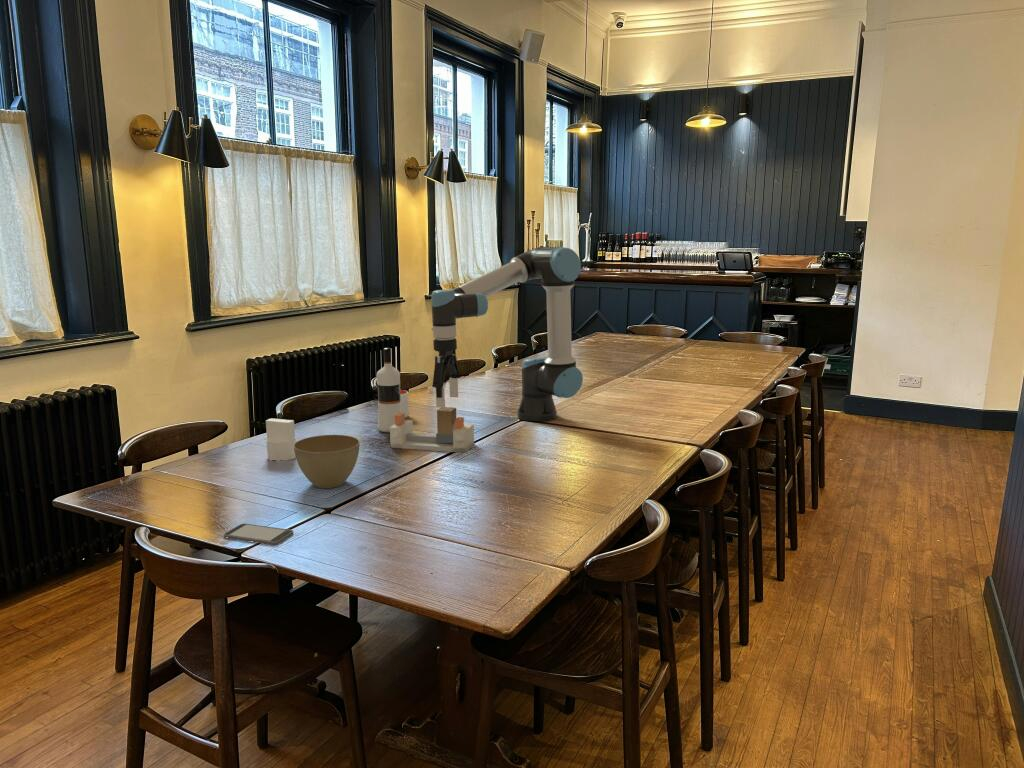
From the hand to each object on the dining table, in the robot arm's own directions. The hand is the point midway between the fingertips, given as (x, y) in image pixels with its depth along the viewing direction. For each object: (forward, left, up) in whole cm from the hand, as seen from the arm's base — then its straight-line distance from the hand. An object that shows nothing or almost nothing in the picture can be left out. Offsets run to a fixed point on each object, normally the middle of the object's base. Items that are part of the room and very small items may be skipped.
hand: (447, 402), depth 242 cm
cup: (+33, -33, -16) cm, 49 cm away
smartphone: (+21, +79, -16) cm, 84 cm away
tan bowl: (+22, +42, -16) cm, 50 cm away
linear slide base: (+6, 0, -15) cm, 16 cm away
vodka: (+28, -16, -16) cm, 35 cm away
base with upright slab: (+49, +22, -16) cm, 56 cm away
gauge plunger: (+17, 0, -8) cm, 19 cm away
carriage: (0, 0, -13) cm, 13 cm away
